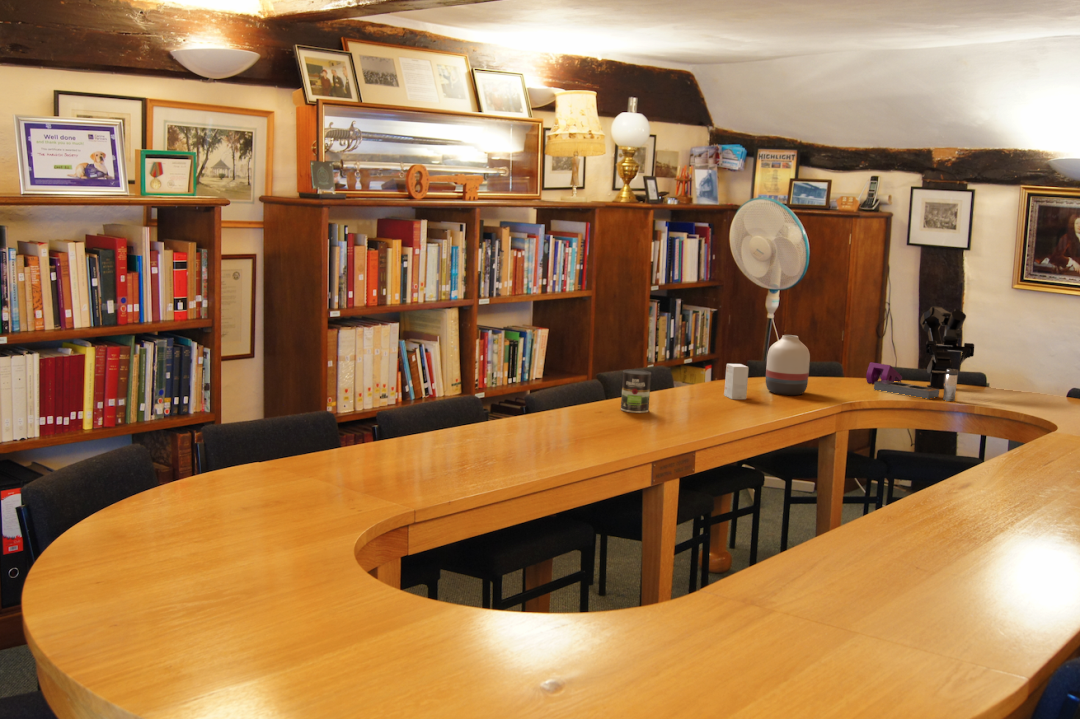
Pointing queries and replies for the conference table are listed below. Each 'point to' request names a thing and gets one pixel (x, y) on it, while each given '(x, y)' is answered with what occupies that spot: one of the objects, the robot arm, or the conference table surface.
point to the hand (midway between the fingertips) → (948, 363)
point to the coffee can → (635, 391)
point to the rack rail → (906, 389)
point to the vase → (787, 366)
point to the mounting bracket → (881, 373)
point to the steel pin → (950, 384)
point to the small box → (736, 381)
